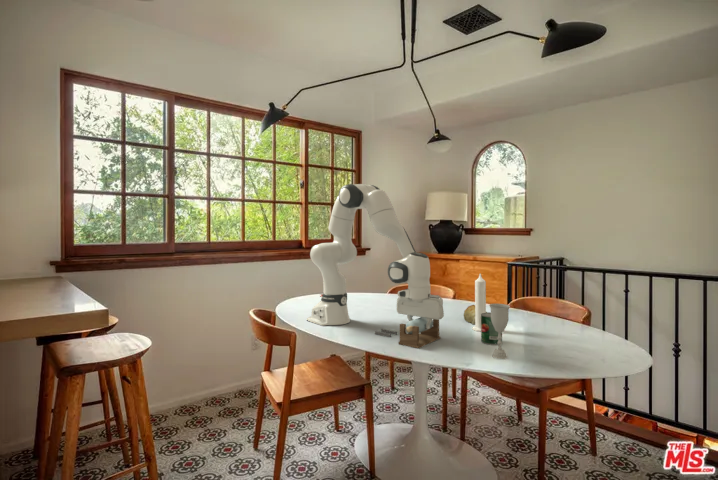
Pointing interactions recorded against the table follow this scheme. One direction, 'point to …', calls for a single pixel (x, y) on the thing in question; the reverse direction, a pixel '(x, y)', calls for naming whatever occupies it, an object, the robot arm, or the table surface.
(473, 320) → the pastry
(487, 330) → the canned tomato
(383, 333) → the rest strips
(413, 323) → the paper roll
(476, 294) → the candle
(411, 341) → the roll holder
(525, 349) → the table surface
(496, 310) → the chalice
